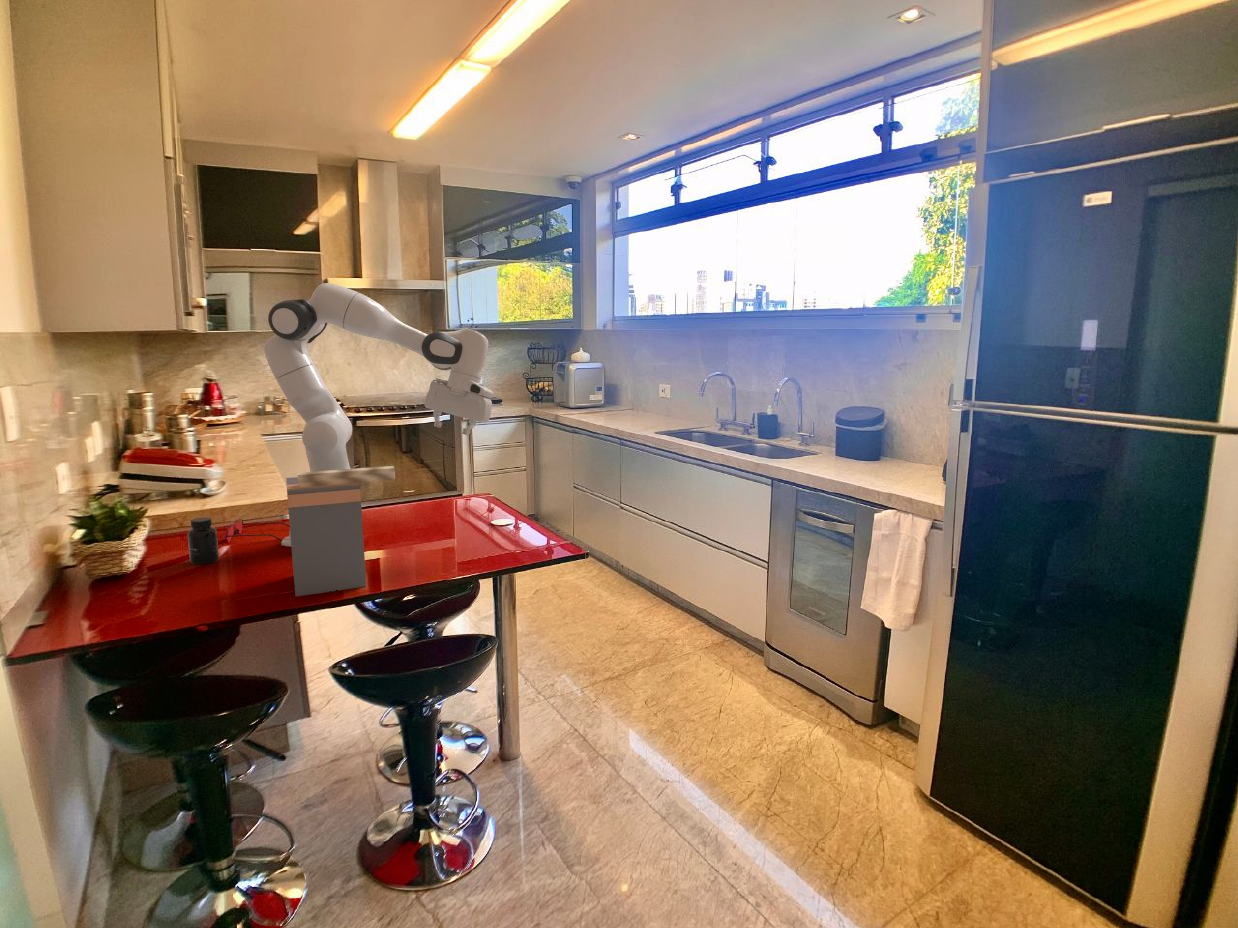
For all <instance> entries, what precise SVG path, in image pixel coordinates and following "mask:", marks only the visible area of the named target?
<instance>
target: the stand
mask: <svg viewBox="0 0 1238 928" xmlns="http://www.w3.org/2000/svg"><path fill="white" fill-rule="evenodd" d="M285 481H286V484H285V485H286V497H287V507H288V518H289V519H288V520H289V525H290V527H289V532H290V535H291V554H292V555H291V556H292V557H291V559H292V570H293V572H292V573H293V582H294V593H295V597H302V596H310V595H317V594H323V593H331V592H336V590H338V591H343V590H351V589H356V588H357V589H359V588H364V587H367V579H366V578H367V577H366V576H367V575H366V560H365V559H366V558H365V544H364V527H363V525H364V524H363V512H362V511H363V510H362V508H363V507H362V493H361V492H362V491H361V490H362V489H361V483H348V484H335V485H323V486H310V487H299V486H298V476H297V477H285ZM330 591H331V592H330Z"/></svg>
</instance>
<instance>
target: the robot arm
mask: <svg viewBox="0 0 1238 928" xmlns="http://www.w3.org/2000/svg"><path fill="white" fill-rule="evenodd" d="M267 319H268V320H267V321H268V324H269V327H270V328H271V331H272V332H273V333H274V334H273V335H272V336H271V337H269V338H268V339H267V340H266V341H265V342H264V345H263V351H264V354H265V359H266V361H267V364H268V366H269V369H270V370H271V373H272V375H273V377H274V378H275V380H276V382H277V384H278V386H279V387H280V389H281V390H282V393H283V395H284V396H285V398H286V400H287V402H288V404H289V405H290V406H291V407H292V408H293V409H294V410H295V411H296V412H297V414H299V416H300V417H301V418H302V420H303V421H304V422H305V425H304V427H303V428H302V429H303V431H302V434H301V440H302V444H303V445H304V449H305V450H304V451H305V454H306V458H307V462H308V466H309V472H314V471H328V470H342V469H352V468H351V467H350V462H349V461H350V460H349V457H348V453H347V443H348V442H349V440H350V439H351V437H352V435H353V425H352V421H351V420H350V419H349V417H348V416H347V415H346V414H345V412H344V410H343V409H342V407H341V405H340V404H339V403H338V402H337V400H336V399H335V397H334V395H333V394H332V393H331V392H330V390H329V388H328V387H327V385H326V384H325V383H326V382H324V380H323V378H322V376H321V374H320V372H319V370H318V369H317V366H316V365H315V364H314V362H313V360H312V358H311V355H310V354H309V352H308V349H307V344H310V343H312V342H313V341H314V340H315V339H317V337H319V336H320V335H321V334H322V333H323V332H324V331H325V330H326V328H327V326H328V324H330V325H331V324H332V325H334V326H337V327H338V328H341V329H344V330H346V331H349V332H351V333H354V334H357V335H359V336H360V335H361V336H364V337H367V338H373V339H377V340H383V341H386V342H390V343H394V344H397V345H399V346H402V347H404V348H406V349H408V350H410V351H412V352H414V353H417V354H419V355H420V356H423V357H424V358H425V360H426V361H427V362H428V363H430V364H431V365H432V366H433V367H434V368H436V369H437V370H440V371H449V370H450V371H449V376H448V380H445V379H441V378H435V379H432V381H431V382H430V384H429V388H428V390H427V391H428V392H427V393H426V396H425V399H424V401H423V404H424V405H423V406H424V407H425V408H426V409H430V410H433V413H432V415H433V418H434V423H433V427H436V428H442V425H443V421H441V419H440V418H441V417H440V416H442V414H443V413H444V414H447V415H448V414H449V415H453V416H456V417H459V418H463V419H467V420H468V421H467V422H468V425H467V426H466V428H465V427H463V428H462V432H461V433H462V435H464V436H470V434H471V430H473V428H474V427H476V425H477V422H478V423H482V424H487V423H488V422H489V421H490V417H491V414H492V408H493V402H492V400H491V399H492V398H493V397H494V391H492V390H491V389H490V388H487V387H486V386H485V385H484V384H482V383H481V380H482V370H483V368H484V366H485V363H486V360H487V357H488V350H489V340H488V338H487V337H486V335H485V334H483V333H482V332H480V331H478V330H476V329H474V328H471V327H464V328H462V329H459V330H454V331H453V330H452V331H434V332H431V333H429V334H428V333H425V332H423V331H420V330H418V329H416V328H414V327H412V326H410V325H408V324H405V323H404V322H402V321H400V320H399V319H398V318H397V317H395V316H394V315H393V314H392V313H390V312H389V310H388V309H386V307H384V306H383V305H381V304H380V303H378V302H377V301H375V300H374V299H372V298H370V297H368V296H367V295H365V294H363V293H361V292H359V291H356V290H353V289H351V288H349V287H345V286H342V285H339V284H333V283H330V282H324V283H321V284H319V285H318V286H317V287H316V288H315V289H314V291H313V292H312V295H311V297H310V298H309V299H304V298H295V299H286V300H283V301H280V302H277V303H276V304H275V305H274V306H272V308H271V309H270V311H269V313H268V317H267ZM288 534H289V535H288V536H286V537H284V538H283V539H281V540H282V541H280V542H281V544H280V545H281V546H285V547H288V548H289V547H291V535H290V531H289V533H288ZM291 548H292V547H291Z"/></svg>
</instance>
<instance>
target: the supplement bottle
mask: <svg viewBox="0 0 1238 928" xmlns="http://www.w3.org/2000/svg"><path fill="white" fill-rule="evenodd" d="M212 525H213V523H212V518H211V517H206V516H204V517H202V516H201V517H196V518H193V519H191V520H190V528H191V529H190V530H188V532H187V540H188V541H187V543H188V553H189V554H188V555H189V562H190V564H192V565H194V566H203V565H210V564H214V563H216V562H217V561H219V558H220V556H219V555H220V554H219V544H218V533H217V532H218V531H217V529H216V528H215V527H214V526H212Z"/></svg>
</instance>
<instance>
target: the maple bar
mask: <svg viewBox="0 0 1238 928" xmlns="http://www.w3.org/2000/svg"><path fill="white" fill-rule="evenodd" d="M297 477H298V486H299V487H310V486H323V485H335V484H348V483H360V484H361V483H371V482H384V481H396V468H395V466H394V465H389V466H388V465H387V466H385V465H384V466H375V467H374V466H372V467H360V468H359V467H358V468H351V469H342V470H328V471H314V472H310V471H301V472H297Z"/></svg>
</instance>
